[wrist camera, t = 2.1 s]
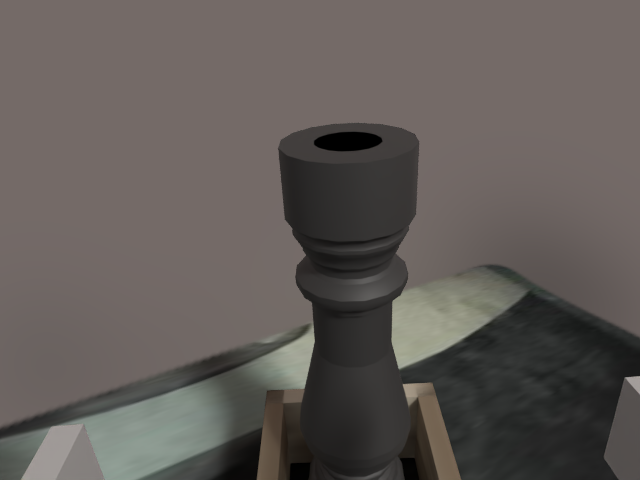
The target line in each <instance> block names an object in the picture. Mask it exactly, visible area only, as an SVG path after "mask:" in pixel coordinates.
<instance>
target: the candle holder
mask: <svg viewBox="0 0 640 480" xmlns="http://www.w3.org/2000/svg"><path fill="white" fill-rule="evenodd" d="M278 150H279V160H280V171H281V182H282V193H283V203H284V214H285V220H286V221H287V222H288V223H289V225H290V226H291V227H292V229H293V230H292V232H293V235H294V237H295V238H296V240H297V241H298V242H299V243H300V245H301V246H302V247H303V251H304V252H305V254H306V256H305V257H304V258H303V260H302V261H301V262H300V263H299V264H298V265H297V269H296V284H297V286H298V288H299V289H300V291H301V293H302V294H303V295H304V297H305V298H306V299H308V300H309V301H311V302H312V307H313V322H314V336H315V344H314V348H313V353H312V358H311V362H310V367H309V372H308V376H307V381H306V386H305V390H304V394H303V399H302V403H301V413H300V429H301V432H302V435H303V437H304V439H305V441H306V444H307V446H308V448H309V450H310V452H311V453H312V454H313V455H314V457H313V459H312V461H311V463H310V475H309V478H308V480H405V477H404V474H403V467H402V462H401V460H400V459H399V457H398V455H399V454H400V453H401V452H402V450H403V448H404V446H405V443H406V440H407V437H408V434H409V431H410V428H411V417H410V412H409V407H408V402H407V398H406V394H405V391H404V387H403V384H402V380H401V376H400V373H399V369H398V365H397V361H396V358H395V354H394V350H393V346H392V342H391V336H392V301H393V300H394V299H395V298H397V297H398V296H400V295H401V293H402V291H403V289H404V287H405V285H406V283H407V280H408V271H407V268H406V264H405V262H404V261H403V260H402V259H401V258H400V257H399V256H397V255H396V254H395V253H396V251H397V250H398V248H399V245H400V243H401V242H402V241H403V239H404V237H405V236H406V234H407V232H408V230H409V225H410V223H411V221H412V220H413V218H414V217H415V215H416V201H417V178H418V177H417V176H418V156H419V141H418V139H417V137H416V135H415V134H413V133H411V132H409V131H407V130H404V129H402V128H397V127H393V126H387V125H381V124H367V123H348V124H331V125H325V126H318V127H312V128H308V129H305V130H301V131H298V132H295V133H292V134H290V135H289V136H287V137H285V138H284V139H282V140H281V141H280V145H279V148H278Z"/></svg>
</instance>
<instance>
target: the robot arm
mask: <svg viewBox="0 0 640 480" xmlns="http://www.w3.org/2000/svg"><path fill="white" fill-rule="evenodd" d="M604 459H605V460H606V461H607V463H608V464H609V466H610V467H611V469H612V470H613V472H614V473H615V475H616V476H617V478H618V479H619V480H640V376H638V377H627V378H625V379H624V383H623V387H622V390H621V394H620V398H619V402H618V405H617V409H616V413H615V417H614V421H613V424H612V428H611V432H610V436H609V439H608V443H607V447H606V451H605V455H604ZM21 480H105V479H104V476H103V474H102V471H101V469H100V466H99V463H98V461H97V458H96V455H95V453H94V450H93V447H92V445H91V442H90V440H89V437H88V434H87V432H86V429H85V426H84V424H78V425H66V426H54V427H51V429H50V430H49V432H48V434H47V435H46V437H45V439H44V441H43V442H42V444H41V446H40V448H39V449H38V451H37V453H36V454H35V456H34V458H33V460H32V461H31V463H30V465H29V467H28V468H27V470H26V472H25V474H24V475H23V477H22V479H21Z"/></svg>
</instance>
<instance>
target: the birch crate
mask: <svg viewBox="0 0 640 480" xmlns="http://www.w3.org/2000/svg"><path fill="white" fill-rule="evenodd" d="M403 387H404V391H405V394H406V398H407V402H408V407H409V412H410V417H411V428H410V431H409V434H408V437H407V440H406V443H405V446H404V448H403V450H402V452H401V453H400V454H399V455H398V457H399V458H415V462H416V467H417V472H418V476H419V480H461V478H460V475H459V471H458V468H457V465H456V461H455V458H454V455H453V451H452V448H451V445H450V441H449V438H448V434H447V431H446V428H445V424H444V421H443V418H442V414H441V411H440V408H439V404H438V401H437V398H436V394H435V391H434V388H433V384H432V383H419V384H403ZM304 390H305V389H292V390H271V391H267V396H266V404H265V413H264V422H263V431H262V440H261V448H260V457H259V466H258V475H257V480H290V464H291V463H308V462H311V461H312V459H313V457H314V455H313V454H312V453H311V452H310V450H309V448H308V446H307V444H306V441H305V439H304V437H303V435H302V432H301V429H300V413H301V403H302V399H303V394H304Z"/></svg>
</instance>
